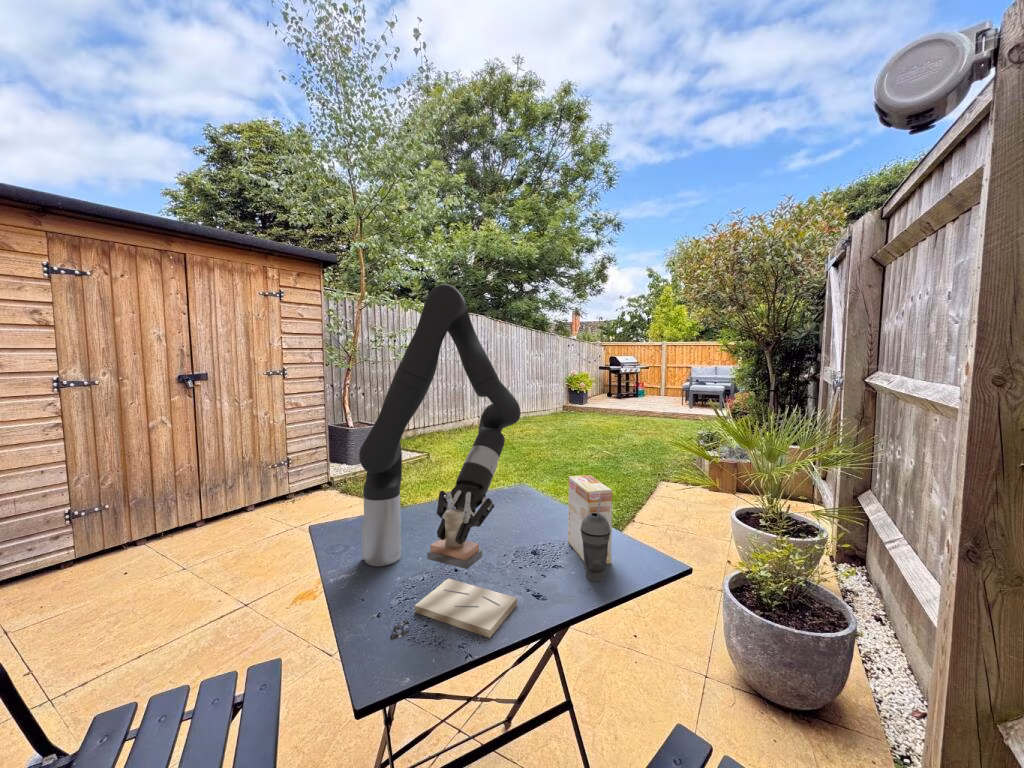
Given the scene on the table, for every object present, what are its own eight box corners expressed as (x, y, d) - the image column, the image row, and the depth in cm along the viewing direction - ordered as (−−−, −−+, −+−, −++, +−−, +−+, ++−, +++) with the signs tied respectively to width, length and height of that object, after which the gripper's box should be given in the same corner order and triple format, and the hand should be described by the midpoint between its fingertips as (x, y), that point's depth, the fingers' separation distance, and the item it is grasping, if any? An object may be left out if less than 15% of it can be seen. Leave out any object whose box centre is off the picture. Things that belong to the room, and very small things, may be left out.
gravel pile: (373, 645, 78) (373, 636, 78) (390, 616, 86) (390, 608, 86) (408, 648, 77) (408, 639, 77) (422, 619, 85) (422, 610, 85)
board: (414, 612, 87) (414, 605, 87) (448, 584, 98) (448, 578, 98) (489, 637, 79) (489, 630, 79) (517, 604, 90) (517, 597, 90)
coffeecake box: (612, 563, 108) (613, 489, 107) (586, 566, 106) (587, 491, 105) (590, 539, 122) (591, 474, 121) (567, 541, 121) (567, 475, 120)
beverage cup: (588, 566, 107) (589, 489, 105) (615, 575, 102) (616, 495, 101) (574, 577, 101) (574, 496, 100) (601, 587, 96) (602, 503, 95)
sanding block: (427, 559, 89) (426, 513, 88) (444, 547, 94) (443, 504, 93) (467, 569, 84) (466, 521, 84) (482, 556, 90) (481, 511, 89)
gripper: (446, 457, 98) (413, 527, 88) (500, 464, 91) (471, 539, 81) (459, 474, 103) (430, 541, 93) (510, 481, 97) (485, 554, 86)
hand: (449, 540), depth 87 cm, fingers closed on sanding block, 4 cm apart
